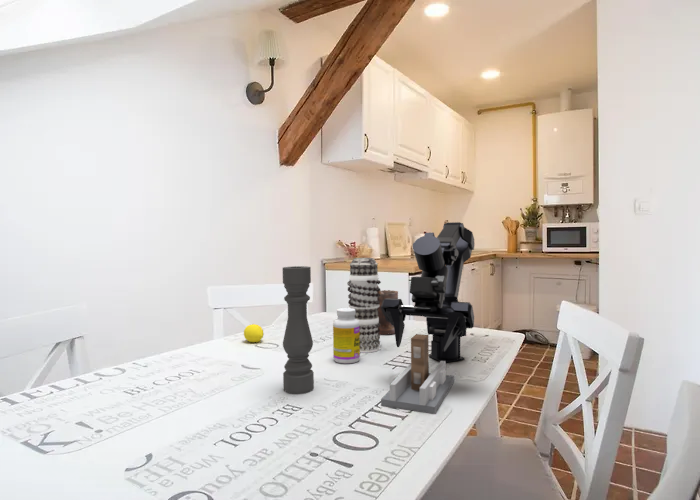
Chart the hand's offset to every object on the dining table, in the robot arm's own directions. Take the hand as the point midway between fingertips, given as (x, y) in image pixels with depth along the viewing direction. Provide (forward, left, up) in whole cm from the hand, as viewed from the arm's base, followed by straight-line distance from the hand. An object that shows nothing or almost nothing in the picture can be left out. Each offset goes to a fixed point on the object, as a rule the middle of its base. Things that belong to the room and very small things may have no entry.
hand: (419, 348), depth 87 cm
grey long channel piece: (0, 0, -9) cm, 9 cm away
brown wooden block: (0, 0, -8) cm, 8 cm away
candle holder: (+21, -13, -9) cm, 26 cm away
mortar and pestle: (-18, -49, -9) cm, 53 cm away
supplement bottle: (+4, -27, -9) cm, 29 cm away
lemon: (+21, -57, -9) cm, 61 cm away
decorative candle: (-5, -35, -9) cm, 36 cm away
